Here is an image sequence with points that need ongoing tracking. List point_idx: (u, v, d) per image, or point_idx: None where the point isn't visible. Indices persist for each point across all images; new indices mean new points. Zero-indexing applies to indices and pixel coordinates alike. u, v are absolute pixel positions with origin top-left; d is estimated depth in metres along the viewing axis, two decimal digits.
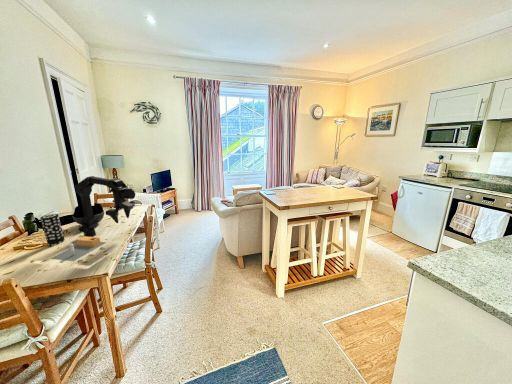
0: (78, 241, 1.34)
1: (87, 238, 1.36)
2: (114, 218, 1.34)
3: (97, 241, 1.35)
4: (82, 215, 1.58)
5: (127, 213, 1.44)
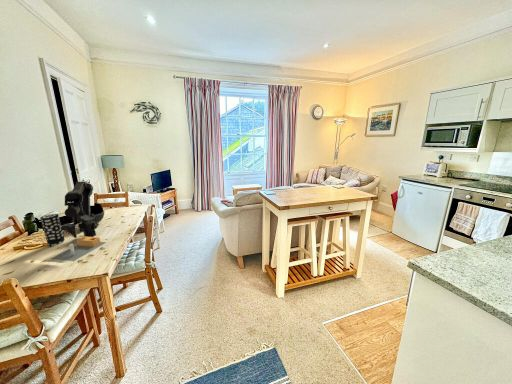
0: (78, 241, 1.34)
1: (87, 238, 1.36)
2: (72, 233, 1.28)
3: (97, 241, 1.35)
4: None
5: (88, 226, 1.38)
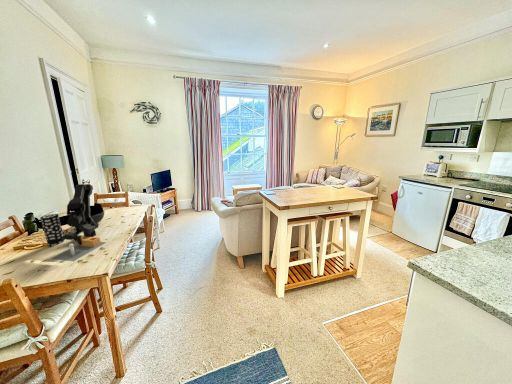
0: None
1: (87, 238, 1.36)
2: (77, 240, 1.32)
3: (97, 241, 1.35)
4: None
5: (87, 236, 1.38)
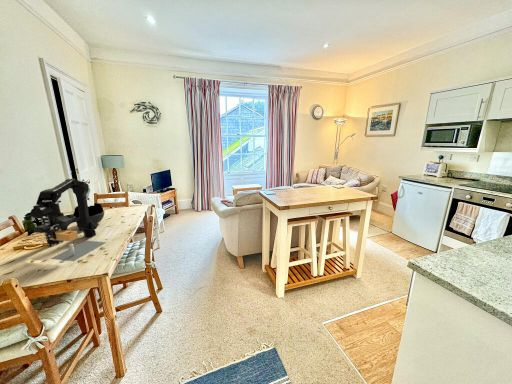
0: None
1: (63, 231, 1.21)
2: (50, 234, 1.17)
3: (74, 235, 1.20)
4: None
5: None
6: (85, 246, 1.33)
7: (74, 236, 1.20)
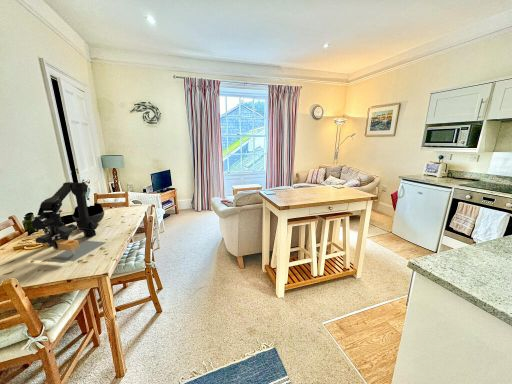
0: None
1: (64, 241, 1.22)
2: (52, 244, 1.18)
3: (75, 244, 1.21)
4: None
5: (65, 239, 1.24)
6: (85, 246, 1.33)
7: (75, 245, 1.22)
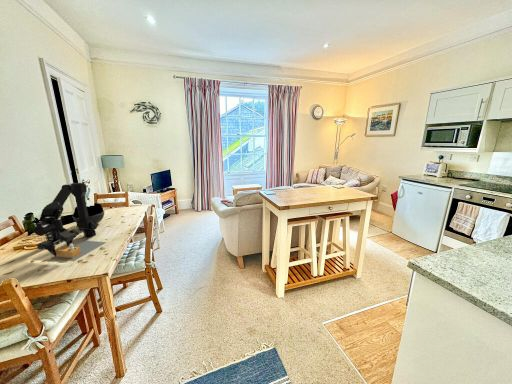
0: (56, 252, 1.21)
1: (66, 248, 1.23)
2: (51, 251, 1.18)
3: (77, 251, 1.23)
4: None
5: (68, 243, 1.27)
6: (85, 246, 1.33)
7: (77, 252, 1.23)
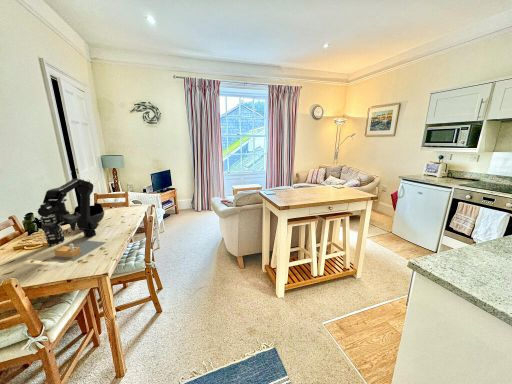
0: (56, 252, 1.21)
1: (66, 248, 1.23)
2: (54, 233, 1.21)
3: (77, 251, 1.23)
4: None
5: (72, 226, 1.31)
6: (85, 246, 1.33)
7: (77, 252, 1.23)
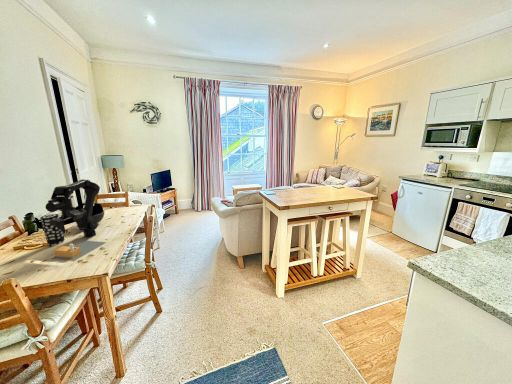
0: (56, 252, 1.21)
1: (66, 248, 1.23)
2: (60, 228, 1.26)
3: (77, 251, 1.23)
4: None
5: (78, 222, 1.36)
6: (85, 246, 1.33)
7: (77, 252, 1.23)
